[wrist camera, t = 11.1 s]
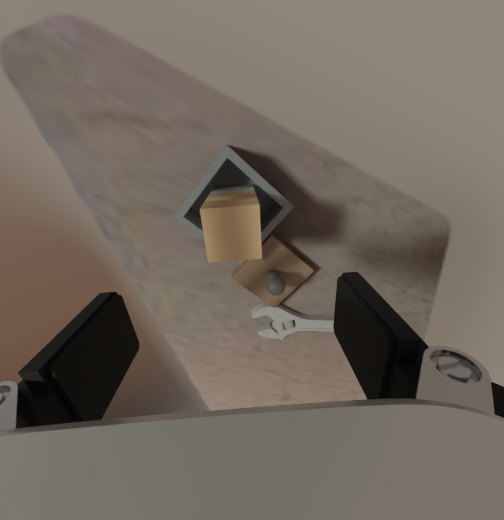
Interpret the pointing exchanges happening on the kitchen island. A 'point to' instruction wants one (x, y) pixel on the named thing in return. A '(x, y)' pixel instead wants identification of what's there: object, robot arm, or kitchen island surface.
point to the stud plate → (272, 260)
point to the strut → (232, 224)
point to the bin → (233, 173)
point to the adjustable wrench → (289, 321)
